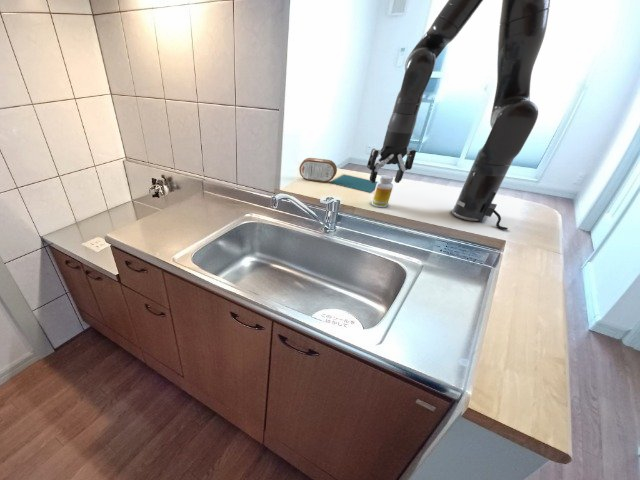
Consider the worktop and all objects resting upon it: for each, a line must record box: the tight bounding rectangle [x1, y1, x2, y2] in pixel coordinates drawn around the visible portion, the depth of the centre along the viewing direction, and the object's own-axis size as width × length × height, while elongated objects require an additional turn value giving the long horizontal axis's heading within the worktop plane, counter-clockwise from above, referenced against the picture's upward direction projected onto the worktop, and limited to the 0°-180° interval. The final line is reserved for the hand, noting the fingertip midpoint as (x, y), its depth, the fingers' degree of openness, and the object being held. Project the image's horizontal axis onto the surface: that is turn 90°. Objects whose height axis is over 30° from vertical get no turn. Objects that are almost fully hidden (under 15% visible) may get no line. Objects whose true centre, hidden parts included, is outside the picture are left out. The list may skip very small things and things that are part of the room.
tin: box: [298, 157, 338, 183], centre depth 132 cm, size 15×3×8 cm, turn 66°
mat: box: [329, 174, 379, 193], centre depth 132 cm, size 17×13×1 cm
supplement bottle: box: [371, 174, 394, 208], centre depth 111 cm, size 5×5×10 cm
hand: (384, 182), depth 110 cm, fingers open, 8 cm apart
